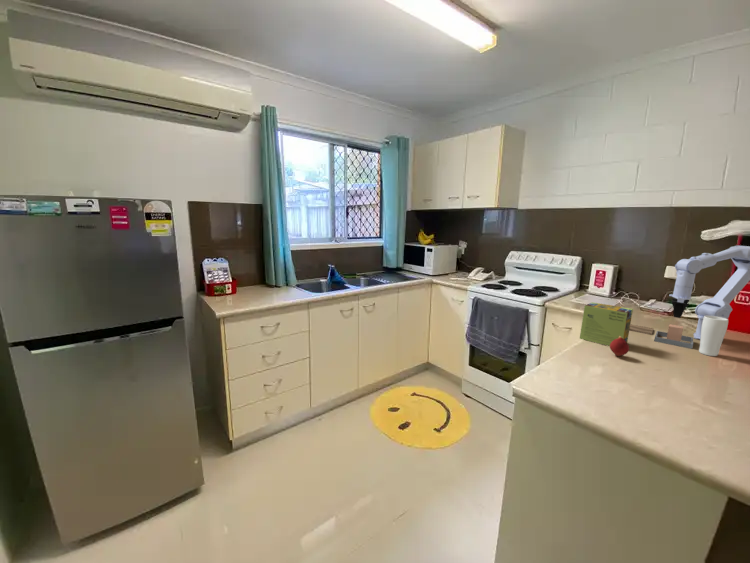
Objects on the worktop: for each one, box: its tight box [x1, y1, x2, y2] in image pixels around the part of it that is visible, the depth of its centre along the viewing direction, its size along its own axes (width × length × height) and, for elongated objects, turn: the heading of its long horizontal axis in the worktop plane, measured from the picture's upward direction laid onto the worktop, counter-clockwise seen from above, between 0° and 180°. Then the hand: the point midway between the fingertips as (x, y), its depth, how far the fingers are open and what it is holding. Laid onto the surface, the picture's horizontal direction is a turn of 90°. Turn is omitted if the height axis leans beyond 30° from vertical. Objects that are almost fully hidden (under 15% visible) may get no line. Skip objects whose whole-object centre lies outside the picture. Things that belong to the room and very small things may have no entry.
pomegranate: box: [609, 336, 630, 357], centre depth 121 cm, size 6×6×8 cm
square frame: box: [653, 330, 694, 349], centre depth 140 cm, size 12×12×2 cm
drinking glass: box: [698, 316, 729, 357], centre depth 125 cm, size 7×7×15 cm
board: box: [629, 323, 655, 336], centre depth 155 cm, size 10×10×1 cm
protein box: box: [579, 302, 634, 347], centre depth 137 cm, size 10×15×16 cm
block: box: [666, 323, 684, 342], centre depth 139 cm, size 4×4×7 cm
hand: (677, 315), depth 142 cm, fingers open, 7 cm apart
